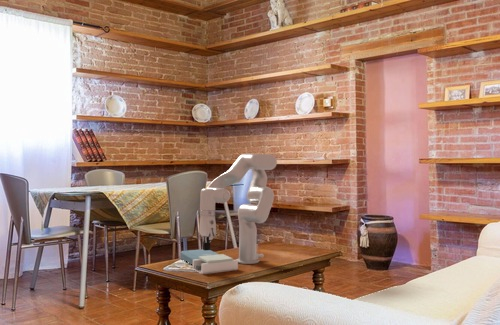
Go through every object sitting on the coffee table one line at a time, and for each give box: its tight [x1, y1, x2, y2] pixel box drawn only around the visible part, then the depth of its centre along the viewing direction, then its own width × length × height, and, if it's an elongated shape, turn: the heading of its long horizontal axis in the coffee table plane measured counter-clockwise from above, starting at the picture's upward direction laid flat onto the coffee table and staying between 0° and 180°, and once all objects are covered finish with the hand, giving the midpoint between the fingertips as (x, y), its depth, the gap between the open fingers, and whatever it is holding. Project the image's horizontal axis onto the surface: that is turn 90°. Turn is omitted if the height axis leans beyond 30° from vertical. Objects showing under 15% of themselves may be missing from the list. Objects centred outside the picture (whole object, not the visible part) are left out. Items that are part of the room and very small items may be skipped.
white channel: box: [192, 255, 239, 275], centre depth 241 cm, size 20×11×5 cm, turn 122°
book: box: [179, 248, 219, 266], centre depth 258 cm, size 23×16×5 cm
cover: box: [199, 253, 234, 263], centre depth 241 cm, size 14×11×1 cm
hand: (206, 250), depth 238 cm, fingers closed
